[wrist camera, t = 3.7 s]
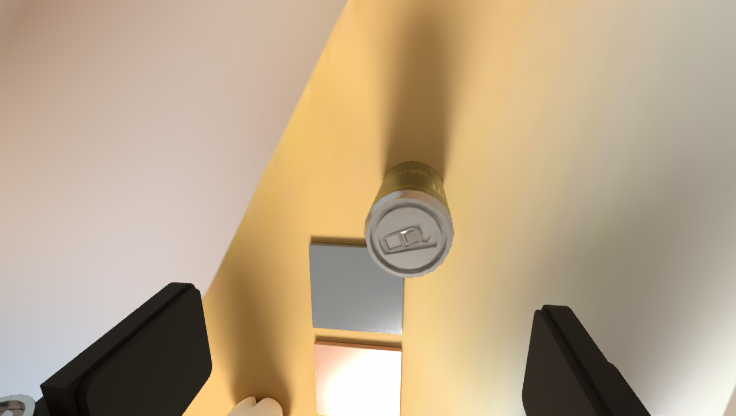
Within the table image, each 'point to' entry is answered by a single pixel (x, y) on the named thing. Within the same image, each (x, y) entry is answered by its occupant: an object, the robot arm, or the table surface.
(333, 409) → the terracotta coaster
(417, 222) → the beer can
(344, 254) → the slate coaster
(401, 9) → the table surface
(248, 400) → the water bottle
